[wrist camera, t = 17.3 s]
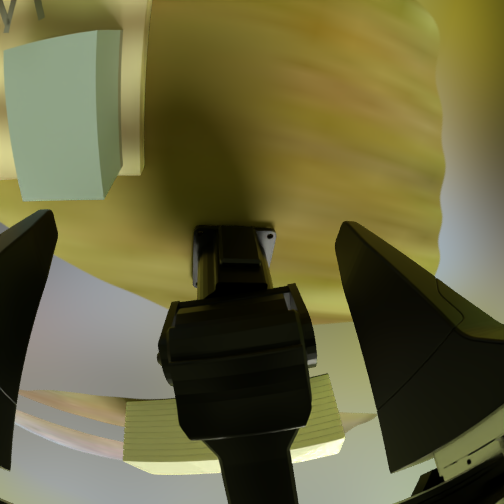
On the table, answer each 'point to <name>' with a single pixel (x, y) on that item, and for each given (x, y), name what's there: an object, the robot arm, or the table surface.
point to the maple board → (76, 21)
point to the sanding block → (65, 115)
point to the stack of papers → (199, 455)
